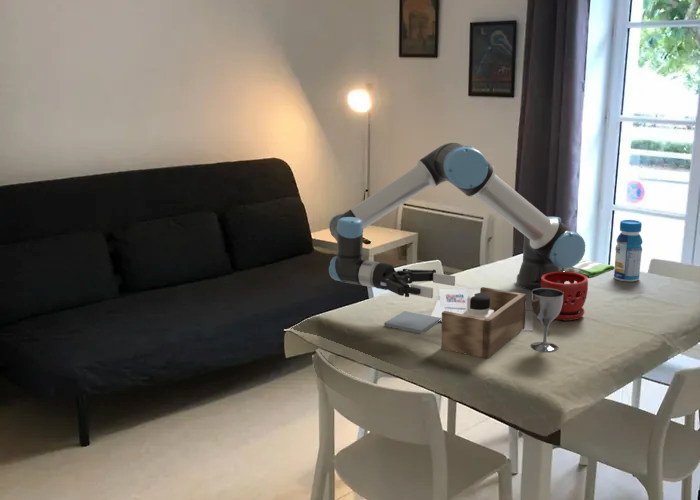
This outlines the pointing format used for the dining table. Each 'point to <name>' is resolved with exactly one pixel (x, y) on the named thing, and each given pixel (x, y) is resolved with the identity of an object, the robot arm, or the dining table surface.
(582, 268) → the dish towel
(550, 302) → the wine glass
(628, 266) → the beverage bottle
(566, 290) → the plant pot
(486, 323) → the walnut bay
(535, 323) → the dining table surface
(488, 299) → the medicine bottle
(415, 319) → the grey pad
